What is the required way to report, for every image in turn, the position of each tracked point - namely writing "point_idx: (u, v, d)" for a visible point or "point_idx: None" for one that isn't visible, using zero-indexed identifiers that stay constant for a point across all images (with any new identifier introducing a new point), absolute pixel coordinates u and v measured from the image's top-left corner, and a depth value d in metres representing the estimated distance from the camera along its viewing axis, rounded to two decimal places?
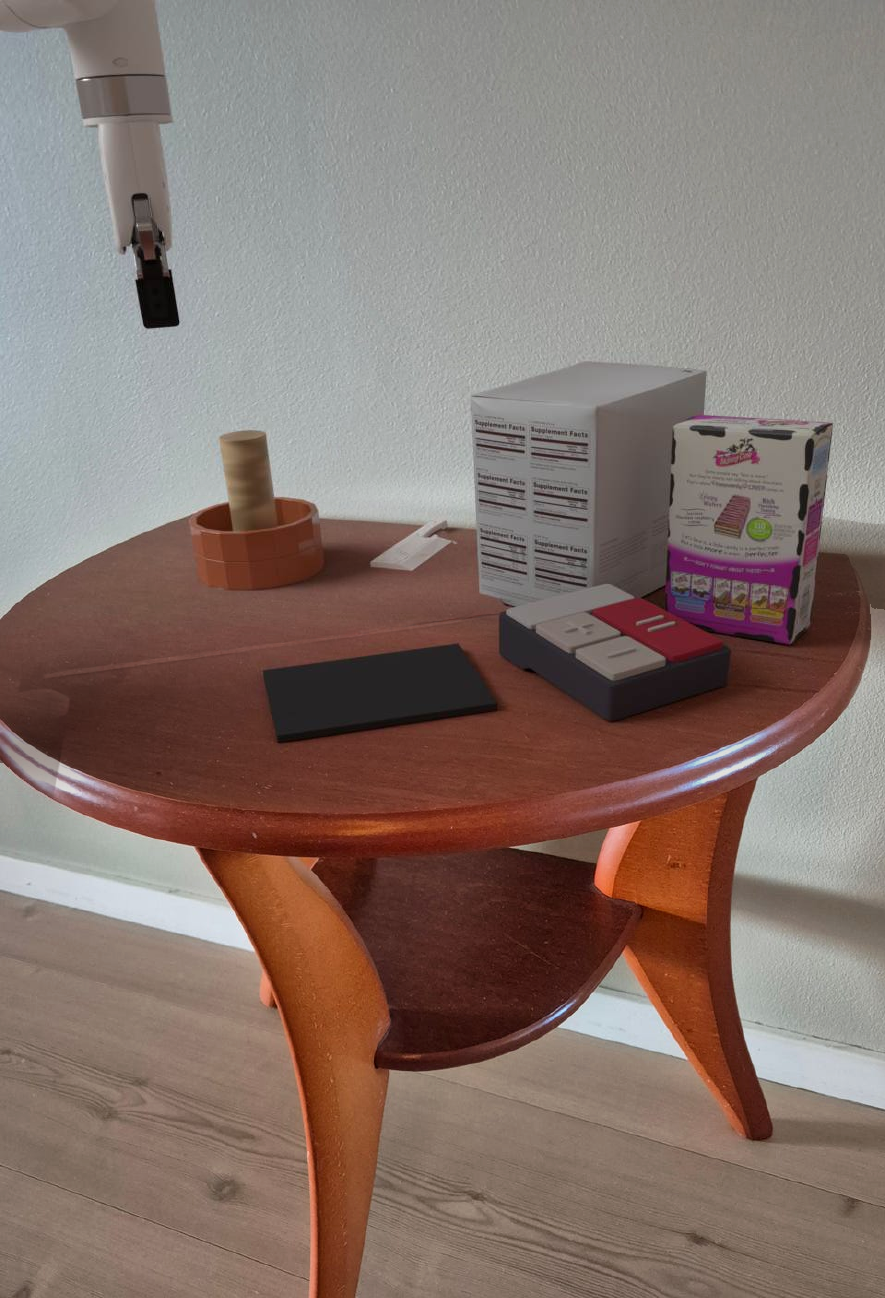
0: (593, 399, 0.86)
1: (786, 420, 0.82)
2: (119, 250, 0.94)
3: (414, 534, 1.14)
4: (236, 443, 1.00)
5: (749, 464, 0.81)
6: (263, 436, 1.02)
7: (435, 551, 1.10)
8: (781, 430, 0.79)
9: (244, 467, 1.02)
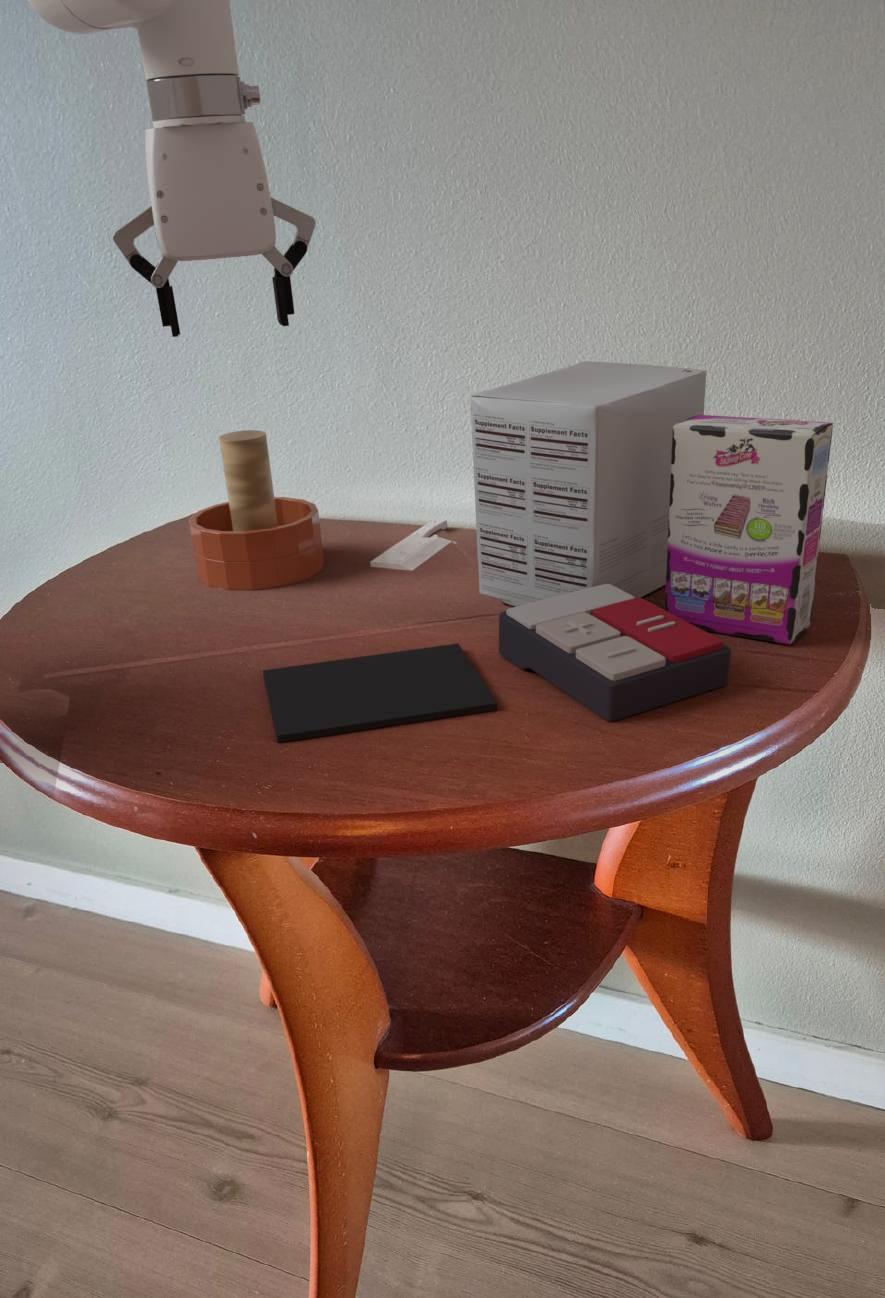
0: (593, 399, 0.86)
1: (786, 420, 0.82)
2: None
3: (414, 534, 1.14)
4: (236, 443, 1.00)
5: (749, 464, 0.81)
6: (263, 436, 1.02)
7: (435, 551, 1.10)
8: (781, 430, 0.79)
9: (244, 467, 1.02)
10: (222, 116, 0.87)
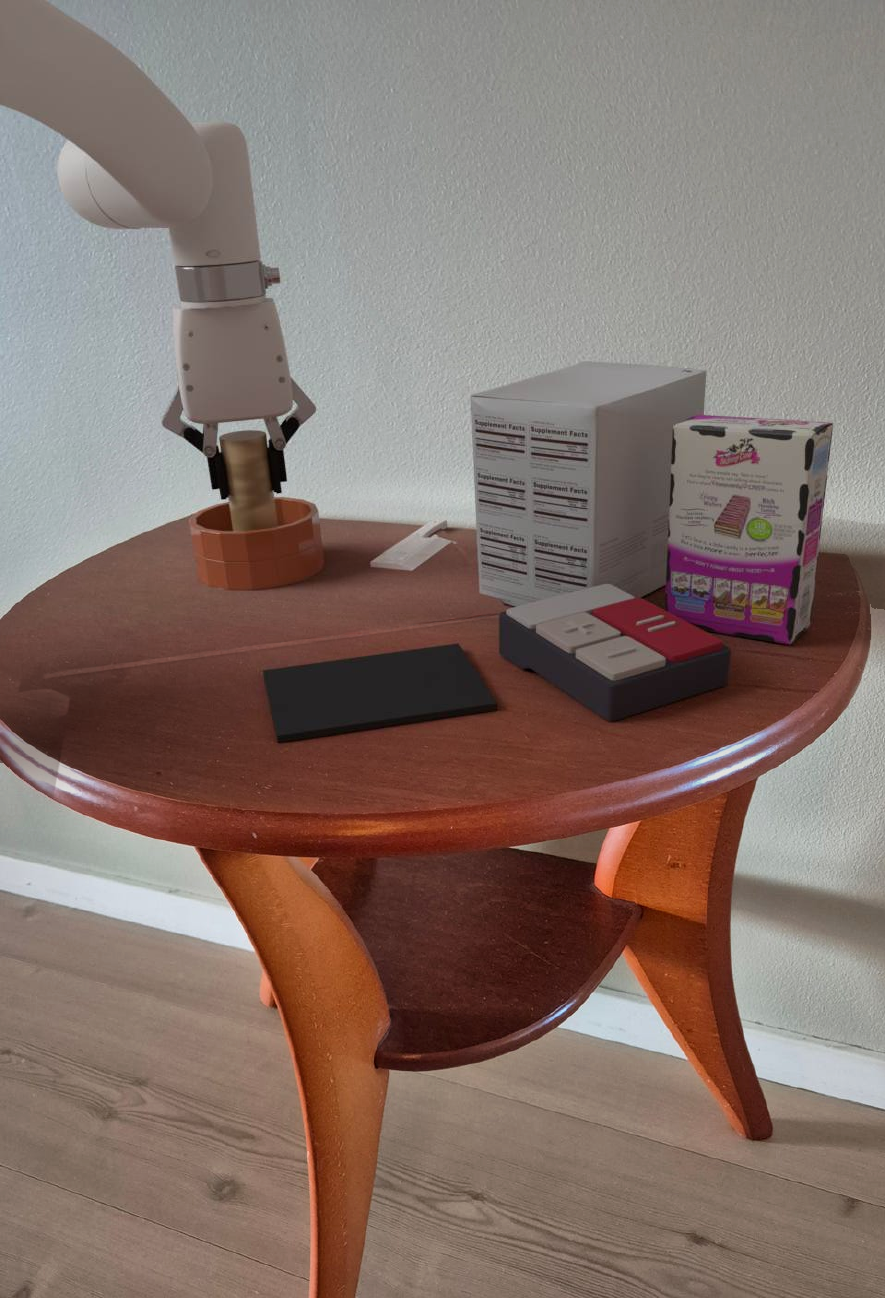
0: (593, 399, 0.86)
1: (786, 420, 0.82)
2: None
3: (414, 534, 1.14)
4: (236, 443, 1.00)
5: (749, 464, 0.81)
6: (263, 436, 1.02)
7: (435, 551, 1.10)
8: (781, 430, 0.79)
9: (244, 467, 1.02)
10: (245, 299, 0.94)
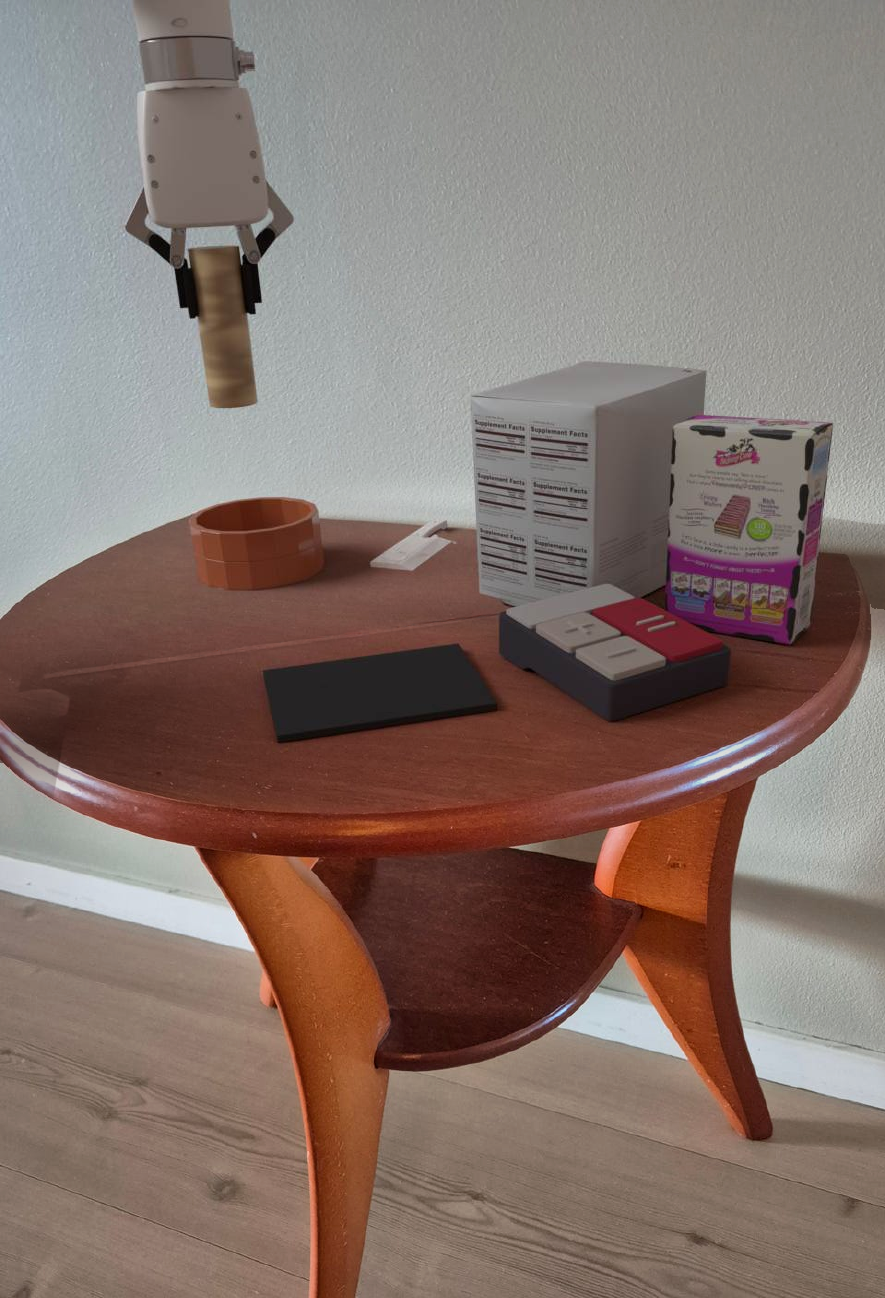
0: (593, 399, 0.86)
1: (786, 420, 0.82)
2: None
3: (414, 534, 1.14)
4: (206, 252, 0.92)
5: (749, 464, 0.81)
6: (236, 247, 0.94)
7: (435, 551, 1.10)
8: (781, 430, 0.79)
9: (215, 280, 0.93)
10: (215, 80, 0.86)
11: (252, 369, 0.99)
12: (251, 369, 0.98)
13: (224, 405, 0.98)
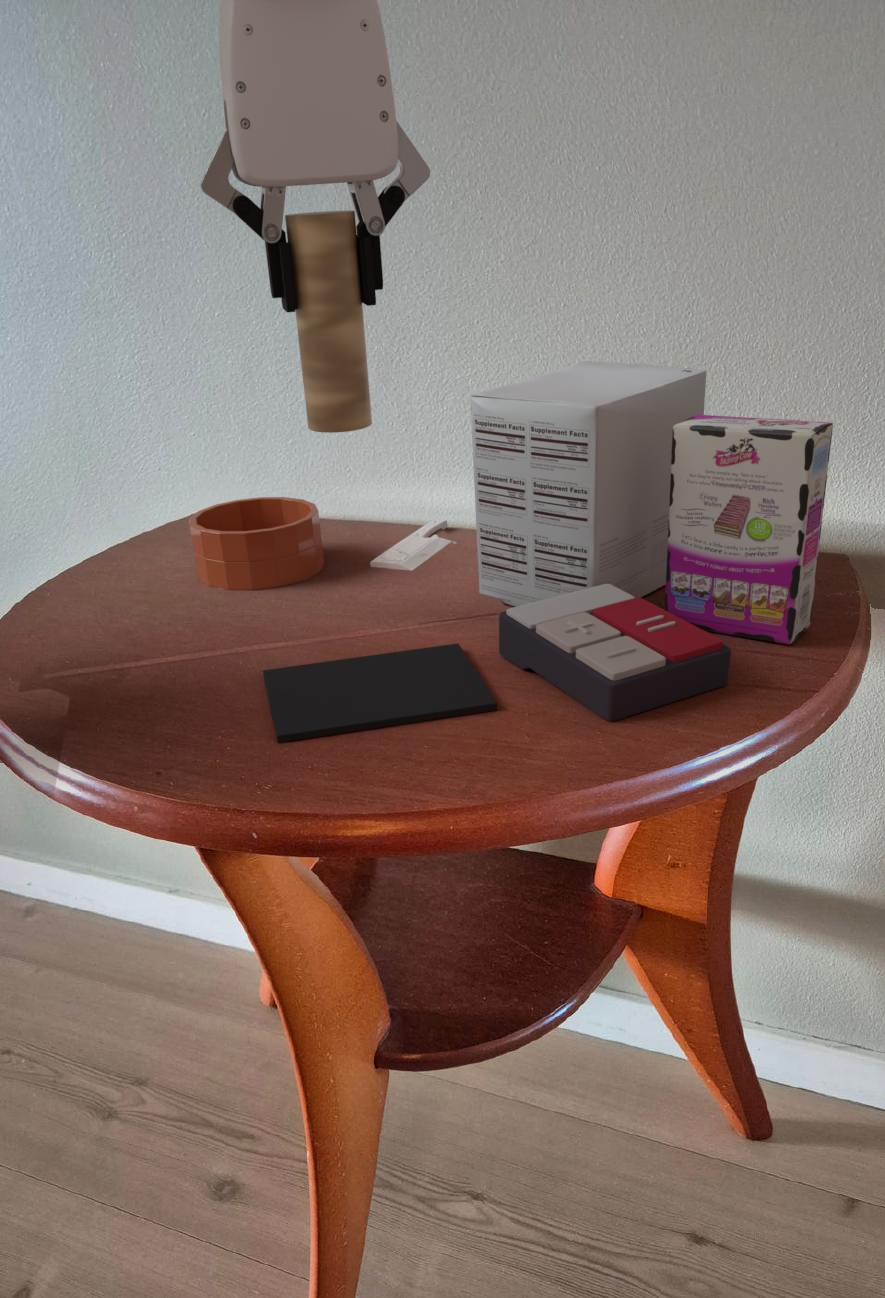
0: (593, 399, 0.86)
1: (786, 420, 0.82)
2: (243, 180, 0.69)
3: (414, 534, 1.14)
4: (312, 219, 0.67)
5: (749, 464, 0.81)
6: (351, 212, 0.68)
7: (435, 551, 1.10)
8: (781, 430, 0.79)
9: (323, 258, 0.68)
10: None
11: (367, 379, 0.73)
12: (366, 379, 0.73)
13: (330, 428, 0.73)
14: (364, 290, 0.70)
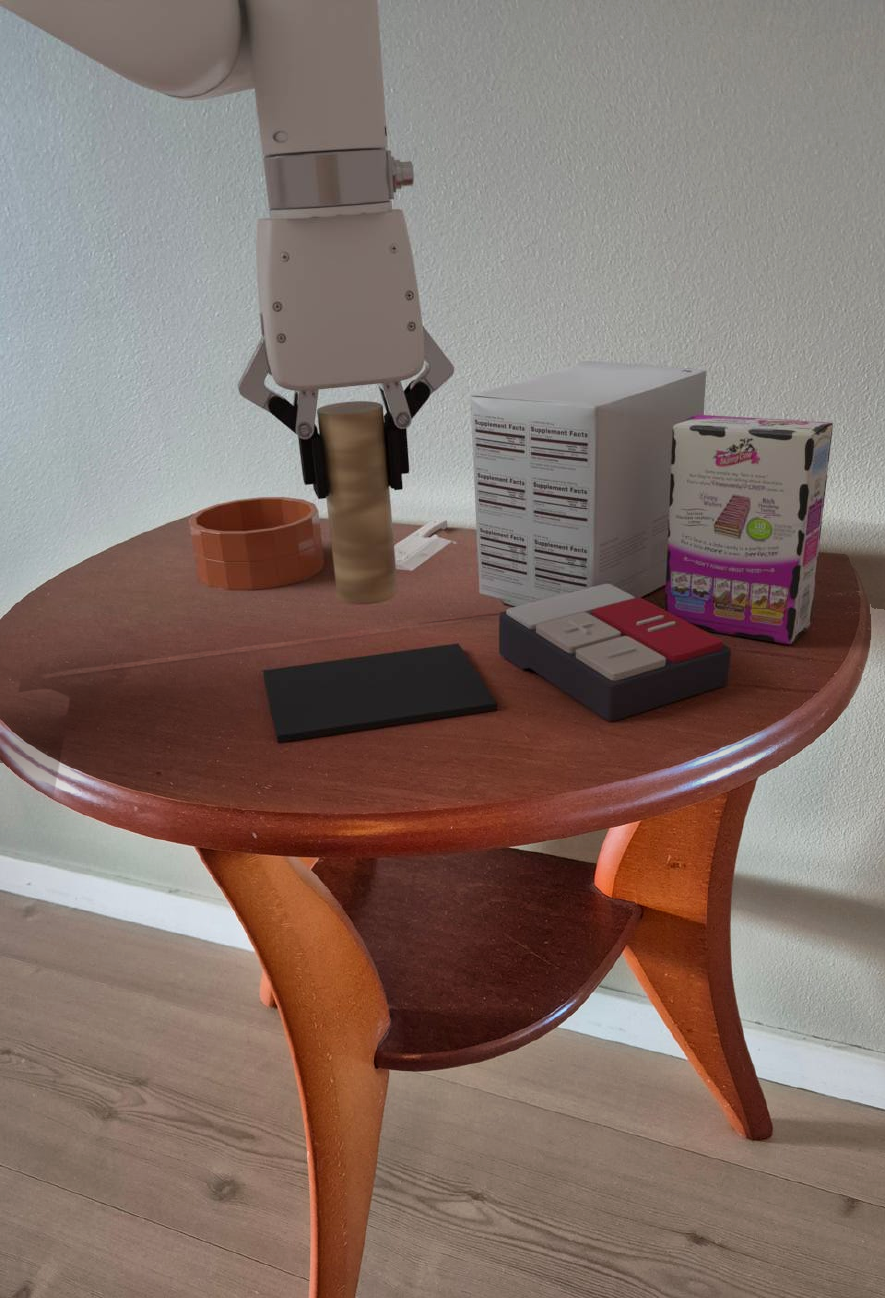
0: (593, 399, 0.86)
1: (786, 420, 0.82)
2: None
3: (414, 534, 1.14)
4: (343, 419, 0.71)
5: (749, 464, 0.81)
6: (380, 409, 0.72)
7: (435, 551, 1.10)
8: (781, 430, 0.79)
9: (353, 452, 0.72)
10: (367, 205, 0.64)
11: (393, 554, 0.77)
12: (393, 554, 0.77)
13: (358, 601, 0.77)
14: (391, 477, 0.74)
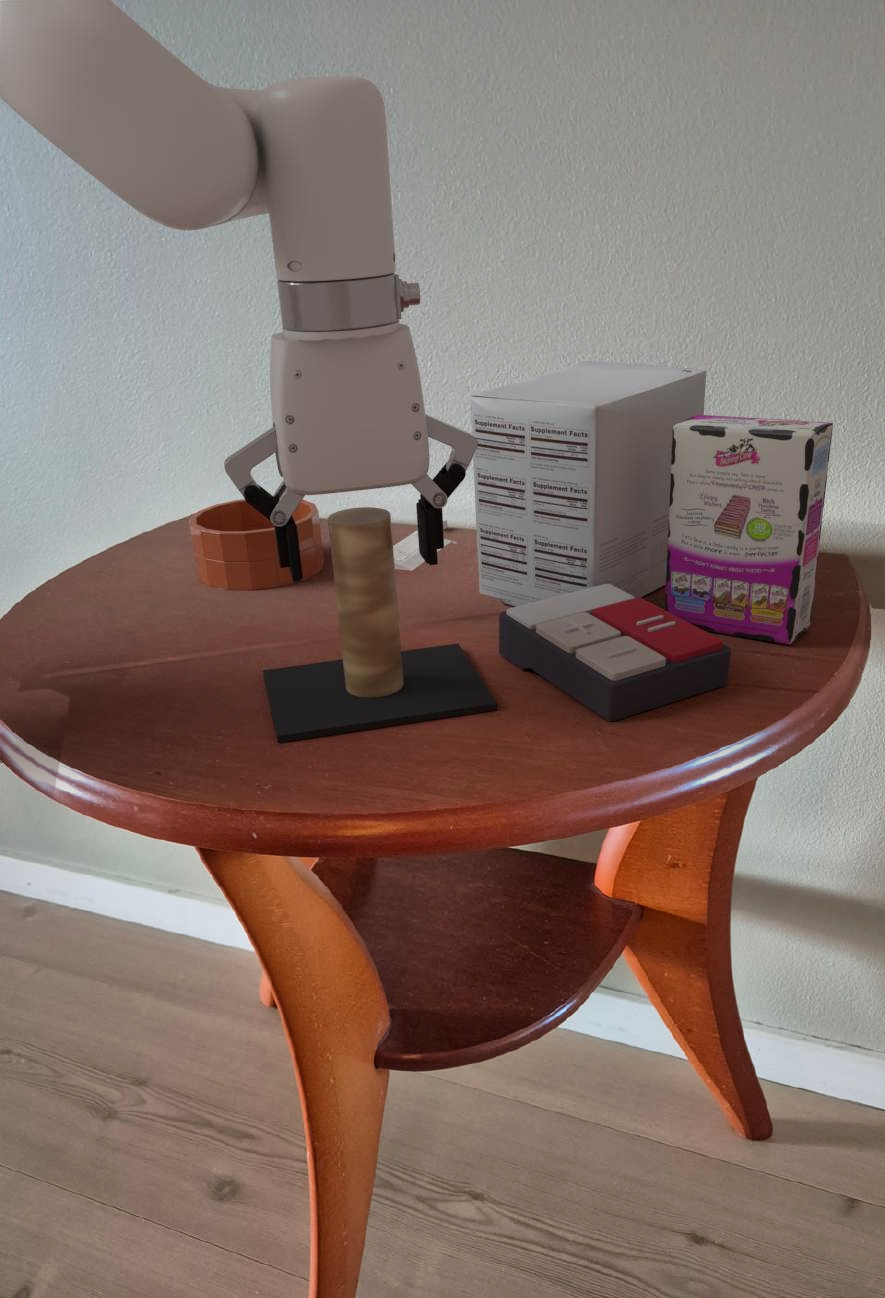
0: (593, 399, 0.86)
1: (786, 420, 0.82)
2: None
3: (414, 534, 1.14)
4: (353, 529, 0.74)
5: (749, 464, 0.81)
6: (388, 518, 0.75)
7: None
8: (781, 430, 0.79)
9: (362, 560, 0.75)
10: (376, 328, 0.67)
11: (400, 650, 0.80)
12: (399, 650, 0.80)
13: (366, 694, 0.80)
14: (427, 553, 0.77)
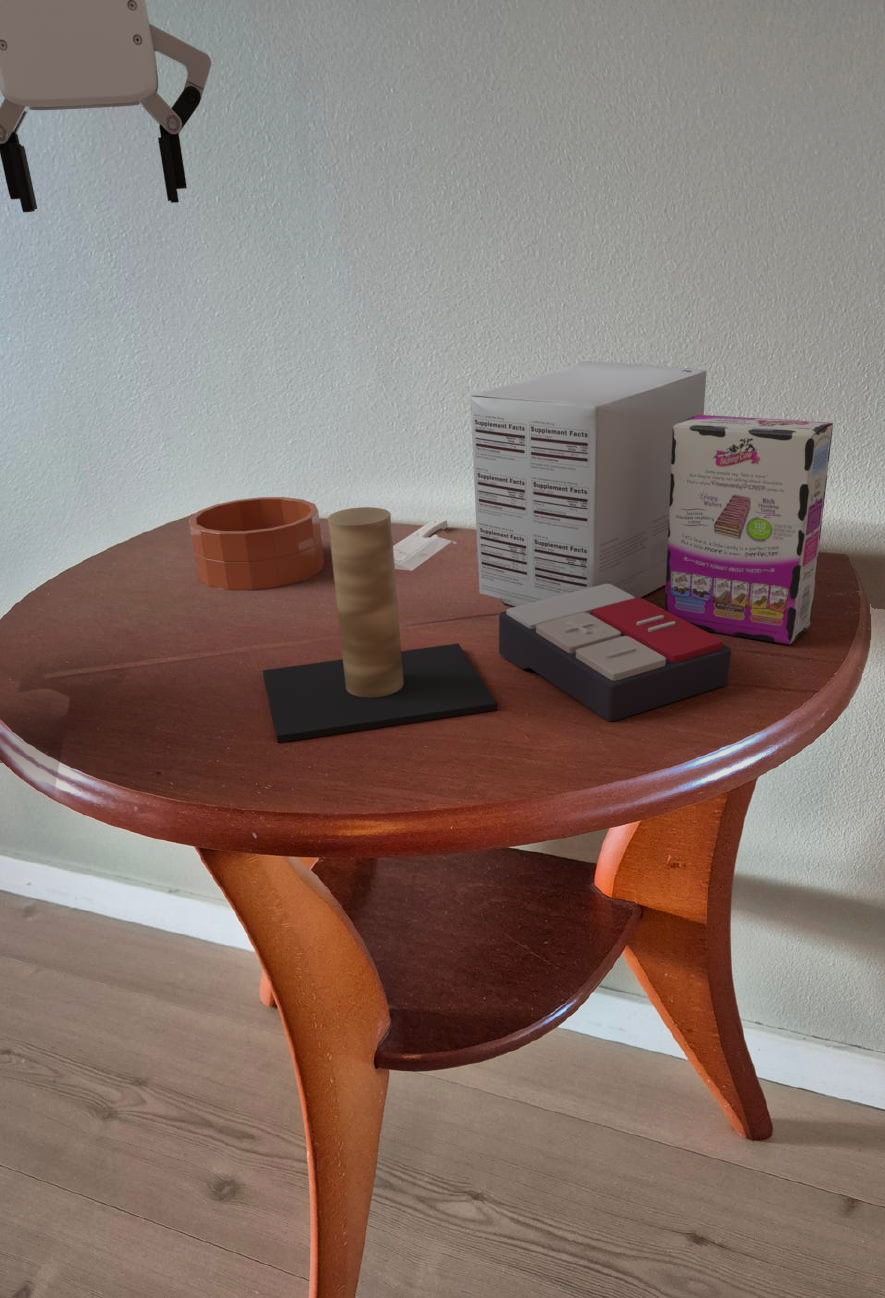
0: (593, 399, 0.86)
1: (786, 420, 0.82)
2: None
3: (414, 534, 1.14)
4: (353, 529, 0.74)
5: (749, 464, 0.81)
6: (388, 518, 0.75)
7: (435, 551, 1.10)
8: (781, 430, 0.79)
9: (362, 560, 0.75)
10: None
11: (400, 650, 0.80)
12: (399, 650, 0.80)
13: (366, 694, 0.80)
14: (166, 187, 0.74)
